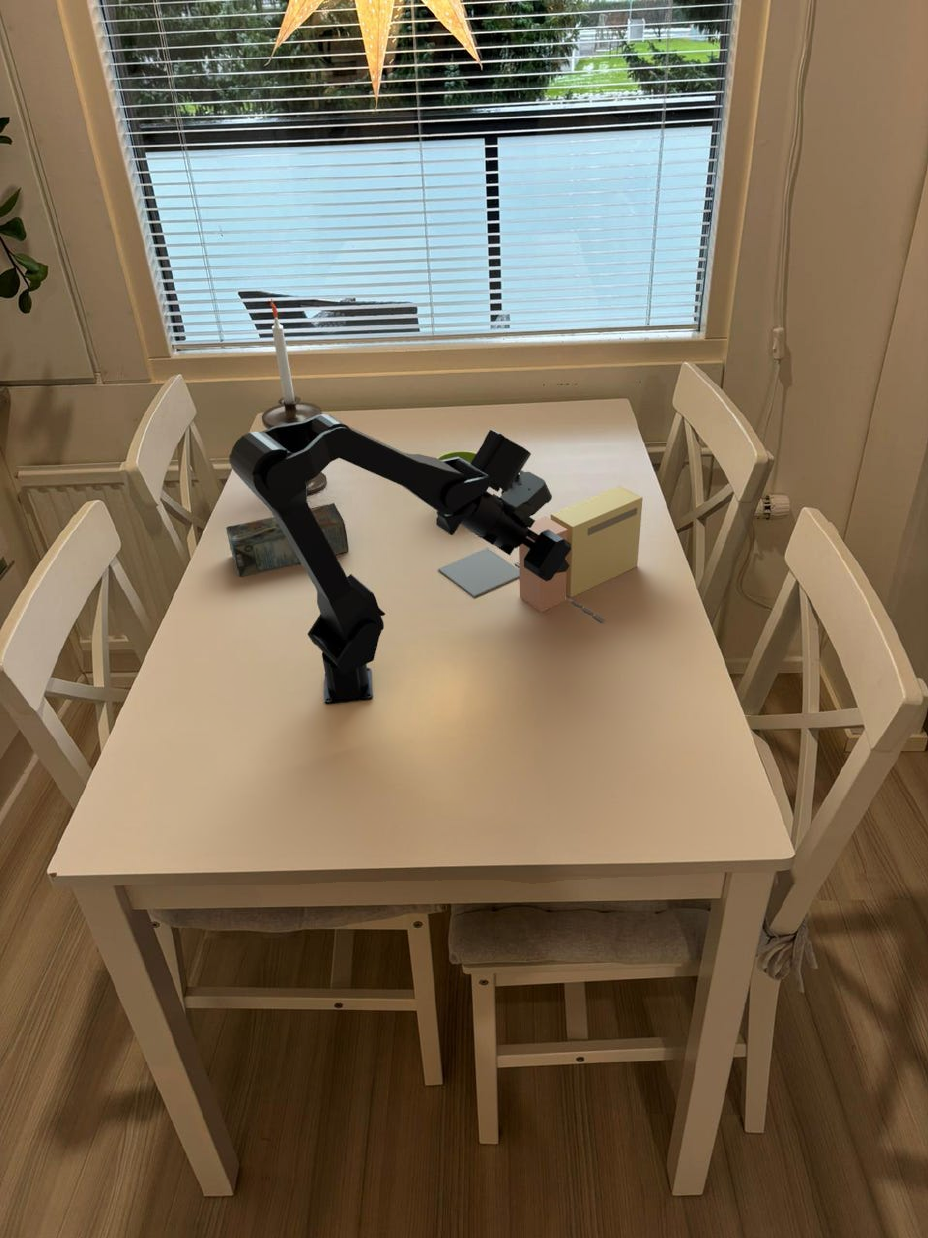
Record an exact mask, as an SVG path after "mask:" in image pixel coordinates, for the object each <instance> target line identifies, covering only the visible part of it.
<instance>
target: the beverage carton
mask: <svg viewBox="0 0 928 1238" xmlns="http://www.w3.org/2000/svg"><path fill="white" fill-rule="evenodd" d="M310 509H311V511H312V513H313V515H314V517H315V518H316V520H317V522H318V524H319V526H320V528H321V529H322V531H323V533H324V535H325V537H326V539H327V541H328V542H329V544H330V546H331V548H332V550H333V552H334V554H335V555H340V554H344V553H348V552H349V542H348V533H347V528H346V524H345V523H346V522H345V520H344V518H343V517H342V515H341V513H340V511H339V510H338V507H337V506H336V504H335V503H334V502H332V503H329V504H323V505H318V506H314V507H310ZM225 529H226V535H227V538H228V543H229V549H230V551H231V555H232V558H233V561H234V564H235V567H236V571H237V575H238V577H240V578H241V577H244V576H249V575H252V574H258V573H263V572H268V571H272V570H277V569H281V568H285V567H288V566H292V565H293V566H294V565H297V564H301V562H300V560H299V558H298V557H297V555H296V553H295V552H294V550H293V548H292V546H291V545H290V543H289V541H288V540H287V538H286V536H285V534H284V533H283V531H282V529H281V528H280V526H279V524H278V522H277V521H276V519H275V517H274V516H272V517H268V518H262V519H258V520H254V521H250V522H245V523H241V524H235V525H229V526H226V527H225Z"/></svg>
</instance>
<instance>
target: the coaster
mask: <svg viewBox="0 0 928 1238" xmlns="http://www.w3.org/2000/svg"><path fill="white" fill-rule="evenodd" d="M437 570H438V571H439V572H440V573H442V574H443V575H444V576H445V577H446V578H447V579H449V580H450V581H451V582H454V583H455V584H456V585H457V586H459V588H461V589H463V590H464V591H465V592H466V593H468V594H469V595H470V596H472V597H473V598H476V597H479V596H480V595H481V596H482V594H485V593H487V592H490V591H492V590H494V589H497V588H499V587H501V586H503V585H505V584H507V583H510V582H512V581H514V580H517V579H520V569H519V567H516V565H513V564H512V563H510V562H509V561H507V560H506V559H504V558H503V557H502V556H500V555H499V554H497V553H495V551H493V550H491V549H490V548H488V547H487V548H484V549H481V550H479V551H477V552H475V553H472V554H470V555H467V556H465V557H463V558H460V559H458V560H456V561H453V562H450V563H448V564H446V565H443V566H442V567H439V568H437Z"/></svg>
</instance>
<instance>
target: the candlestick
mask: <svg viewBox="0 0 928 1238" xmlns="http://www.w3.org/2000/svg"><path fill="white" fill-rule="evenodd" d="M269 305H270V306H271V308H272V309H271V311H272V315H273V318H274V320H273V321H274V323H273V325H272V326H271V330H272V335H273V343H274V348H275V353H276V359H277V367H278V371H279V372H278V373H279V379H280V384H281V390H282V396H283V397H282V398H280V399H279V400H278V402H277V403H279V404H278V405H275V406H272V407H270V408H268V409H266V410H265V411H264V412H263V413H262V415H261V422H262V425H263V427H264V428H265V429H266V430H267V429H269V428H271V427H274V426H278V425H284V424H289V423H295V422H301V421H305V420H307V419H309V418H312V417H314V416H316V415H321V414H323V412H322V409H321V407H320V406H319V405H317V404H315V403H310V402H303V401H301V398H300V397H299V396H295V394H294V393H295V392H294V388H293V382H292V375H291V369H290V363H289V355H288V350H287V343H286V339H285V338H286V337H285V331H284V325H282V324H280V321H279V318H278V310H277V307H276V304H274V302H273V298H271V299H270V303H269ZM295 453H297V452H295ZM292 454H294V453H292ZM327 484H328V481H327V475H325V473H324V472H322V471H321V472H320V473H319V474H318V475H317V476H316V477H315V478H313V479H311V480H309V481H307V482H306V485H307V496H311V495H314V494H317V493H319V492H321V491H323V490H324V489H325V488H326V487H327Z"/></svg>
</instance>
